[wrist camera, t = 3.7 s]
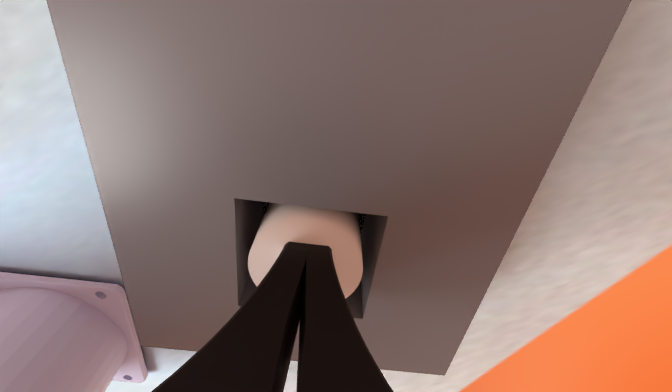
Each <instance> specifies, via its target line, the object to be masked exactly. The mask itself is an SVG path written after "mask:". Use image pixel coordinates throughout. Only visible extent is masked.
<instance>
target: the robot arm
mask: <svg viewBox="0 0 672 392" xmlns="http://www.w3.org/2000/svg"><path fill="white" fill-rule="evenodd" d="M299 322H300V325H299ZM298 326H299V348H298V371H297V392H393V390H392V389H391V387H390V386H389V384H388V383H387V381H386V379H385V378H384V376H383V374H382V373H381V371H380V369H379V367H378V366H377V364H376V362H375V360H374V359H373V357H372V355H371V353H370V351H369V349H368V347H367V346H366V344H365V342H364V340H363V338H362V336H361V334H360V332H359V330H358V327H357V325H356V323H355V321H354V318H353V316H352V314H351V312H350V309H349V307H348V304H347V302H346V299H345V296H344V294H343V291H342V288H341V286H340V283H339V279H338V276H337V273H336V269H335V265H334V261H333V256H332V249H331V248H330V247H329V246H325V245H315V244H307V243H298V242H287V243H286V244H285V245H284V247H283V249H282V251H281V253H280V255H279V256H278V258H277V260H276V261H275V263H274V264H273V266H272V267H271V269H270V270H269V272H268V273H267V274H266V276H265V277H264V278H263V280H262V281H261V282H260V284H259V285H258V286H257V288H256V289H255V290H254V292H253V293H252V294H251V295H250V296H249V298H248V299H247V300H246V301H245V302H244V304H243V305H242V306H241V307H240V308H239V310H238V311H237V312H236V313H235V314H234V315H233V316H232V317H231V319H230V320H229V321H228V322H227V323H226V324H225V325H224V326H223V327H222V328H221V329H220V330H219V331H218V332H217V333H216V334H215V335H214V336H213V337H212V338H211V339H210V340H209V341H208V342H207V343H206V344H205V345H204V346H203V347H202V348H201V349H200V350H199V351H198V352H197V353H196V354H194V355H193V356H192V357H191V358H190V359H189V360H188V361H187V362H186V363H185V364H184V365H182V366H181V367H180V368H179V369H178V370H177V371H176V372H175V373H173V374H172V375H171V376H170V377H169V378H167V379H166V380H165V381H164V382H163V383H161V384H160V385H159V386H158V387H156V388H155V389H154V390H153V391H152V392H283V390H284V386H285V382H286V377H287V373H288V369H289V365H290V360H291V356H292V352H293V348H294V343H295V339H296V335H297V331H298ZM147 376H148V372H147V369H146V365H145V361H144V358H143V354H142V351H141V347H140V343H139V340H138V336H137V332H136V329H135V325H134V321H133V318H132V314H131V311H130V307H129V303H128V300H127V296H126V292H125V290H124V289H123V288H122V287H121V286H119V285H117V284H111V283H102V282H92V281H83V280H73V279H64V278H54V277H45V276H35V275H26V274H16V273H7V272H0V392H105V390H106V389H107V387H108V386H109V384H110V382H111V381H112V380H113V381H124V382H135V383H141V382H144V381H145V379H146V378H147Z"/></svg>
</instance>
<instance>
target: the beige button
mask: <svg viewBox="0 0 672 392" xmlns="http://www.w3.org/2000/svg"><path fill="white" fill-rule="evenodd" d="M287 242H298V243H307V244H315V245H325V246H329V247H330V248H331V249H332V256H333V261H334V265H335V269H336V273H337V276H338V279H339V283H340V286H341V288H342V291H343V294H344V296H345V299H346V298H347V297H348V296H350V295H351V294H352V293H353V292H354V291H355V289H356V288H357V287H358V285H359V283H360V281H361V278H362V273H363V262H362V248H361V234H360V220H359V213H355V212H346V211H338V210H329V209H321V208H312V207H304V206H295V205H287V204H279V203H270V202H269V203H268V205H267V208H266V211H265V213H264V216H263V218H262V221H261V224H260V226H259V229H258V231H257V234H256V237H255V239H254V242H253V244H252V247H251V249H250V252H249V256H248V269H249V273H250V276H251V278H252V280H253V282H254V283H255V285H256V286H258V285H259V284H260V282H261V281H262V280H263V278H264V277H265V276H266V274H267V273H268V272H269V270H270V269H271V267H272V266H273V264H274V263H275V261H276V260H277V258H278V256H279V255H280V253H281V251H282V249H283V247H284V245H285V244H286V243H287Z"/></svg>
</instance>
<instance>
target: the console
mask: <svg viewBox="0 0 672 392" xmlns="http://www.w3.org/2000/svg"><path fill="white" fill-rule="evenodd" d="M630 2H631V0H47V4H48V8H49V11H50V15H51V19H52V22H53V26H54V30H55V33H56V37H57V41H58V44H59V48H60V52H61V55H62V59H63V63H64V66H65V70H66V74H67V77H68V81H69V85H70V88H71V92H72V96H73V99H74V103H75V107H76V110H77V114H78V117H79V121H80V125H81V128H82V132H83V136H84V139H85V143H86V147H87V150H88V154H89V158H90V161H91V165H92V169H93V172H94V176H95V180H96V183H97V187H98V191H99V194H100V198H101V202H102V205H103V209H104V213H105V216H106V220H107V224H108V227H109V231H110V235H111V238H112V242H113V246H114V249H115V253H116V257H117V260H118V264H119V268H120V271H121V275H122V279H123V282H124V286H125V290H126V293H127V297H128V301H129V304H130V308H131V312H132V315H133V319H134V323H135V326H136V330H137V334H138V337H139V341H140V345H141V346H147V347H157V348H168V349H178V350H188V351H199V350H200V349H201V348H202V347H203V346H204V345H205V344H206V343H207V342H208V341H209V340H210V339H211V338H212V337H213V336H214V335H215V334H216V333H217V332H218V331H219V330H220V329H221V328H222V327H223V326H224V325H225V324H226V323H227V322H228V321H229V320H230V319H231V317H232V316H233V315H234V314H235V313H236V312H237V311H238V310H239V308H240V307H241V306H242V305H243V304H244V302H245V301H246V300H247V299H248V298H249V296H250V295H251V294H252V293H253V292H254V290H255V289H256V288H257V286H256V285H255V283H254V282H253V280H252V278H251V276H250V273H249V269H248V256H249V252H250V249H251V247H252V244H253V242H254V239H255V237H256V234H257V231H258V229H259V226H260V224H261V221H262V218H263V202H270V203H279V204H287V205H295V206H304V207H312V208H321V209H329V210H338V211H346V212H355V213H363V214H365V218H364V223H363V228H362V233H361V248H362V262H363V273H362V278H361V281H360V283H359V285H358V287H357V288H356V289H355V291H354V292H353V293H352V294H351V295H350V296H348V297H347V298H346V302H347V304H348V307H349V309H350V312H351V314H352V316H353V318H354V321H355V323H356V325H357V327H358V330H359V332H360V334H361V336H362V338H363V340H364V342H365V344H366V346H367V347H368V349H369V351H370V353H371V355H372V357H373V359H374V360H375V362H376V364H377V366H378V367H379V369H384V370H394V371H404V372H414V373H425V374H435V375H445V374H446V372H447V370H448V368H449V366H450V364H451V362H452V360H453V357H454V355H455V353H456V351H457V349H458V347H459V345H460V343H461V341H462V339H463V337H464V335H465V333H466V331H467V329H468V327H469V325H470V323H471V321H472V319H473V317H474V315H475V313H476V311H477V309H478V307H479V305H480V303H481V301H482V299H483V297H484V295H485V293H486V291H487V289H488V287H489V285H490V283H491V281H492V279H493V277H494V275H495V273H496V271H497V269H498V267H499V265H500V263H501V261H502V259H503V257H504V255H505V253H506V251H507V249H508V247H509V245H510V243H511V241H512V239H513V237H514V235H515V233H516V231H517V229H518V227H519V225H520V223H521V221H522V219H523V217H524V215H525V213H526V211H527V209H528V207H529V205H530V203H531V201H532V199H533V197H534V195H535V193H536V191H537V189H538V187H539V185H540V183H541V181H542V179H543V177H544V175H545V173H546V171H547V169H548V167H549V165H550V163H551V161H552V159H553V157H554V155H555V153H556V151H557V149H558V147H559V145H560V143H561V141H562V138H563V136H564V134H565V132H566V130H567V128H568V126H569V124H570V122H571V120H572V118H573V116H574V114H575V112H576V110H577V108H578V106H579V104H580V102H581V100H582V98H583V96H584V94H585V92H586V90H587V88H588V86H589V84H590V82H591V80H592V78H593V76H594V74H595V72H596V70H597V68H598V66H599V64H600V62H601V60H602V58H603V56H604V54H605V52H606V50H607V48H608V46H609V44H610V42H611V40H612V38H613V36H614V34H615V32H616V30H617V28H618V26H619V24H620V22H621V20H622V18H623V16H624V14H625V12H626V10H627V8H628V6H629V4H630ZM299 325H300V322H299ZM298 348H299V326H298V331H297V335H296V339H295V343H294V348H293V352H292V356H291V361H298Z"/></svg>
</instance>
